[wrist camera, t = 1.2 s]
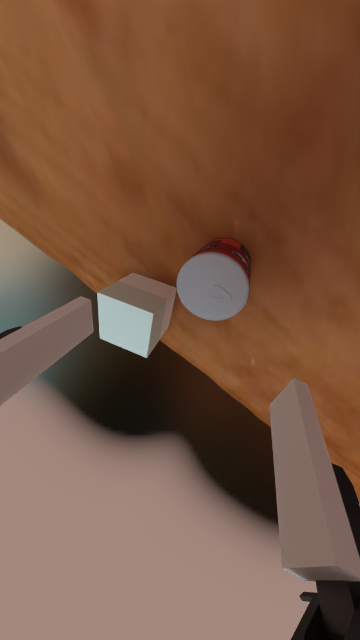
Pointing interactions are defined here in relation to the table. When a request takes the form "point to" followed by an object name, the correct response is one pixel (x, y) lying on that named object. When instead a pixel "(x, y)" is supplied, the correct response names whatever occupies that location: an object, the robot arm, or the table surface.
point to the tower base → (156, 289)
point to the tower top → (130, 317)
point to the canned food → (216, 280)
